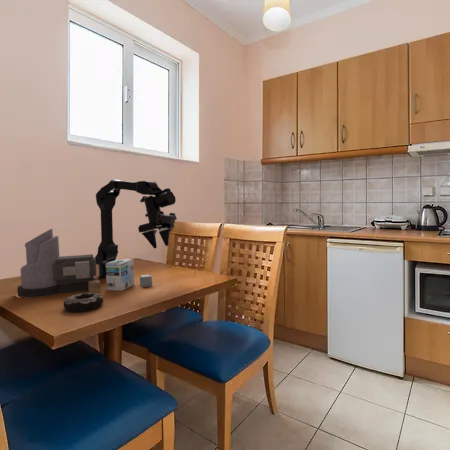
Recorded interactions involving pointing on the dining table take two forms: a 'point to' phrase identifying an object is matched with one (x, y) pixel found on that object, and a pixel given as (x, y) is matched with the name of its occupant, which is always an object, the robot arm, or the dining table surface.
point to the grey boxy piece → (53, 269)
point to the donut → (83, 302)
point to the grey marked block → (145, 280)
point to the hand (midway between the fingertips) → (161, 247)
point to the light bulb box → (120, 274)
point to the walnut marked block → (94, 286)
